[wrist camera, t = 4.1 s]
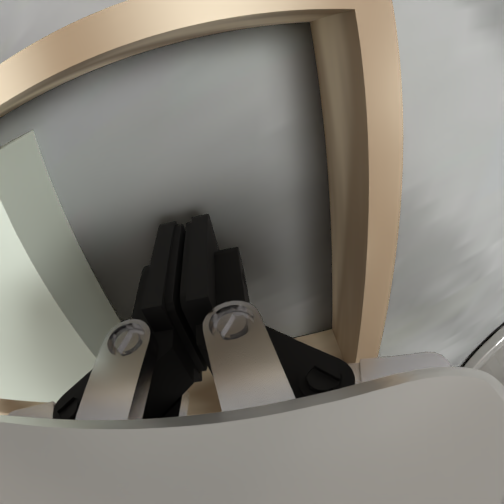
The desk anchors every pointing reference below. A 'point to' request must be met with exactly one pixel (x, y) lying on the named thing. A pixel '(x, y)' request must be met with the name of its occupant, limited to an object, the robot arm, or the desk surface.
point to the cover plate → (43, 285)
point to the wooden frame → (335, 127)
